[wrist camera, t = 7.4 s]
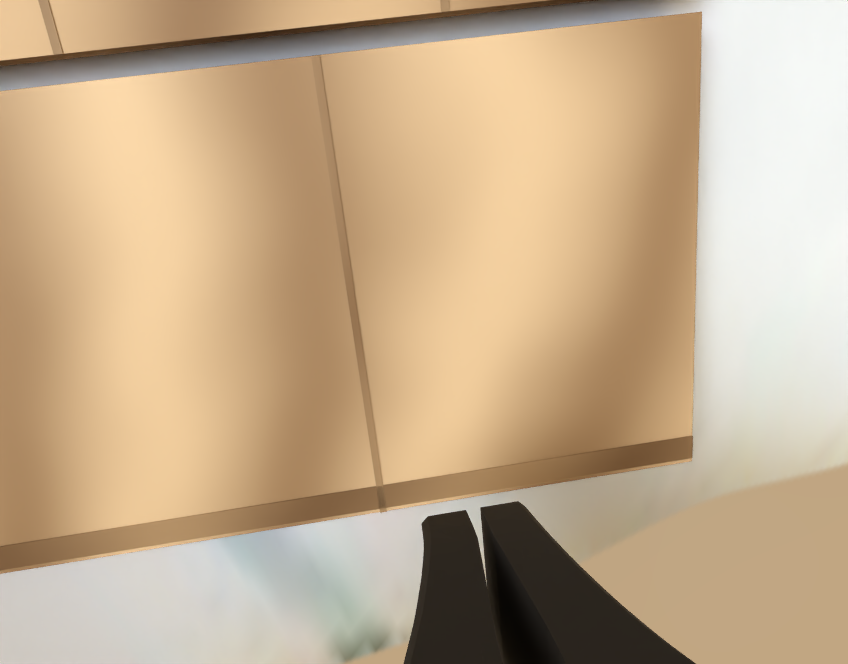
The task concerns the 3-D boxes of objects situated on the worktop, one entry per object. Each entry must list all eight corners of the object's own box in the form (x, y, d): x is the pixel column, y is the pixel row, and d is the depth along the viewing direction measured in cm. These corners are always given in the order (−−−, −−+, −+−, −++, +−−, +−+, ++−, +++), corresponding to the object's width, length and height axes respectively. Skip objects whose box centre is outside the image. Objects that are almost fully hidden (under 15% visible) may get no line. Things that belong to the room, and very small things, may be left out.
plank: (-59, 554, 17) (-86, 588, 16) (-236, 118, 14) (-288, 123, 13) (669, 438, 19) (692, 461, 18) (674, 15, 15) (702, 11, 14)
